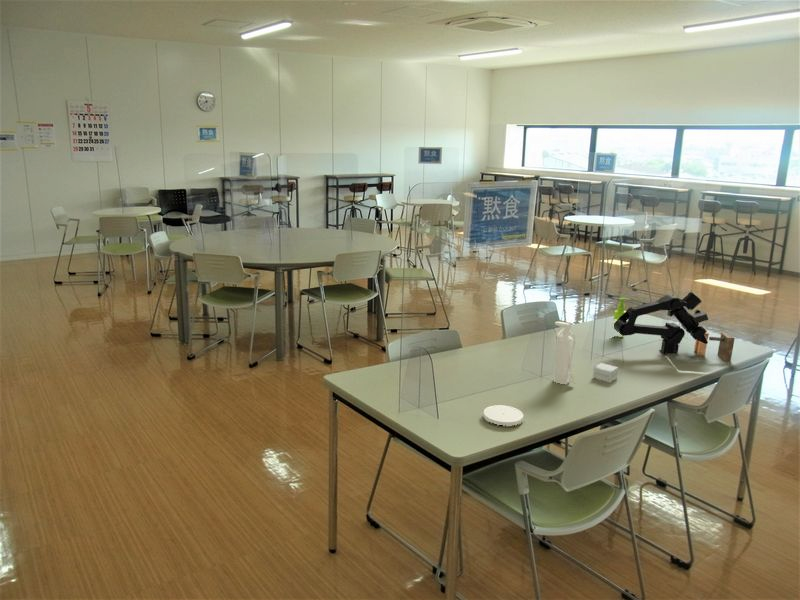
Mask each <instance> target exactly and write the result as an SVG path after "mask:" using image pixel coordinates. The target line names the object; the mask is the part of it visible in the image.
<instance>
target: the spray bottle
mask: <svg viewBox="0 0 800 600" xmlns="http://www.w3.org/2000/svg"><path fill="white" fill-rule="evenodd" d="M554 325H556V326H558V327H559V328H557V329H556V330H555V333H554V334H555V337H557V339H556V348H555V358H554V367H553V369H554V370H553V380H554V381H553V383H555V382H556V383H555V384H557V383H560V384H559V385H561V384H565V385H568V384H567V383H569V385H574V384H575V380H574V376H573V373H572V361H573V355H574V350H575V345H576V336H575V334H574V333H573V332H572V331H570V330H571V329H572V326H571V323H568V322H563V321H555V322H554ZM561 333H562V334H561ZM570 335H571V336H572V337H571V336H570Z"/></svg>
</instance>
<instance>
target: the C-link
mask: <svg viewBox="0 0 800 600" xmlns="http://www.w3.org/2000/svg"><path fill="white" fill-rule="evenodd" d="M704 335H705V338H706V340H707V341H708V340H709V339H708V338H709V335H710V334H709V333H708V331H707V332H706V333H705V334H704ZM694 343H695V344H694V348H693V352H694V353H696V354H697V356H701V357H702V356H703V357H705V356H706V352H707V351H706V350H707V345H708V343H707V344H705V343H703V342H701V341H698V340H695V341H694Z"/></svg>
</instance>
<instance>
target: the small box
mask: <svg viewBox="0 0 800 600" xmlns="http://www.w3.org/2000/svg"><path fill="white" fill-rule="evenodd" d="M618 373H619V366H614V365H611V364H607V363H604V362H600V363H598V364H597V365H595V366H593V373H592V379H594V378H596V379H595V380H597V379H599V380H598V381H601V380H603V381H602V382H604V381H606V383H608V382H609V384H611V383H612V382H613V380H614V381H615V380H616V379H618ZM610 382H611V383H610Z"/></svg>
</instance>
